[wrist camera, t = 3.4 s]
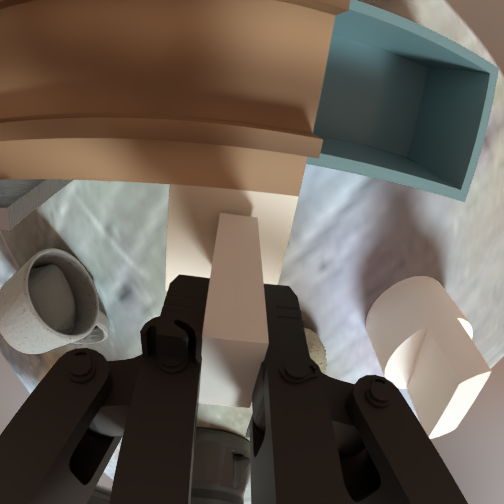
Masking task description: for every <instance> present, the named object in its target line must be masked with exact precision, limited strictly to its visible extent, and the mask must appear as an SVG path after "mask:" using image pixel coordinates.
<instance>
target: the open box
mask: <svg viewBox="0 0 504 504" xmlns="http://www.w3.org/2000/svg"><path fill="white" fill-rule="evenodd" d="M498 69H499V68H497V67H496V66H494V65H493V64H491V63H490V62H488V61H486V60H485V59H483V58H482V57H480V56H478V55H477V54H475V53H473V52H472V51H470V50H468V49H466V48H465V47H463V46H461V45H459V44H458V43H456V42H454V41H452V40H450V39H448V38H446V37H444V36H442V35H440V34H438V33H436V32H434V31H432V30H430V29H428V28H426V27H424V26H422V25H420V24H417V23H415V22H413V21H411V20H408V19H406V18H403V17H401V16H399V15H396V14H394V13H391V12H389V11H386V10H383V9H381V8H378V7H375V6H372V5H370V4H367V3H364V2H361V1H358V0H350V5H349V11H346V12H343V13H341V14H338V15H335V20H334V26H333V31H332V37H331V42H330V47H329V53H328V58H327V63H326V69H325V74H324V79H323V84H322V89H321V94H320V99H319V104H318V109H317V114H316V119H315V123H314V128H313V134H315V135H317V136H318V137H320V138H322V139H323V143H322V148H321V152H320V156H319V159H318V158H312V157H307V161H306V164H311V165H316V166H321V167H326V168H331V169H336V170H341V171H346V172H351V173H355V174H360V175H364V176H369V177H373V178H377V179H382V180H386V181H390V182H394V183H398V184H402V185H406V186H410V187H413V188H417V189H421V190H425V191H428V192H432V193H436V194H439V195H443V196H446V197H449V198H453V199H456V200H459V201H463V202H465V200H466V197H467V194H468V191H469V188H470V185H471V182H472V179H473V176H474V172H475V169H476V166H477V163H478V159H479V156H480V152H481V149H482V145H483V141H484V137H485V133H486V129H487V125H488V121H489V117H490V112H491V108H492V103H493V98H494V93H495V87H496V82H497V76H498Z"/></svg>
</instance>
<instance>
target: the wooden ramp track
mask: <svg viewBox="0 0 504 504" xmlns="http://www.w3.org/2000/svg"><path fill="white" fill-rule="evenodd" d="M349 5H350V0H0V179H65V180H101V181H125V182H144V183H160V184H170V189H169V205H168V224H167V250H166V292H167V291H168V288H169V285H170V283H171V282H172V281H173V280H174V279H175V278H176V277H177V276H178V275H179V274H181V275H189V276H197V277H205V278H210V275H211V268H212V261H213V255H214V248H215V242H216V235H217V229H218V223H219V216H220V213H226V214H234V215H242V216H249V217H257V218H258V227H259V238H260V249H261V260H262V271H263V282H264V284H273V285H278V281H279V277H280V273H281V269H282V265H283V261H284V257H285V252H286V248H287V244H288V240H289V236H290V231H291V227H292V223H293V219H294V214H295V210H296V206H297V201H298V197H299V192H300V188H301V184H302V179H303V175H304V170H305V166H306V161H307V157H312V158H318V159H319V156H320V152H321V148H322V143H323V139H322V138H320V137H318V136H317V135H315V134H313V128H314V123H315V119H316V114H317V109H318V104H319V99H320V94H321V89H322V84H323V79H324V74H325V69H326V63H327V58H328V53H329V47H330V42H331V37H332V31H333V26H334V20H335V15H338V14H341V13H343V12H346V11H349Z"/></svg>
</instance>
